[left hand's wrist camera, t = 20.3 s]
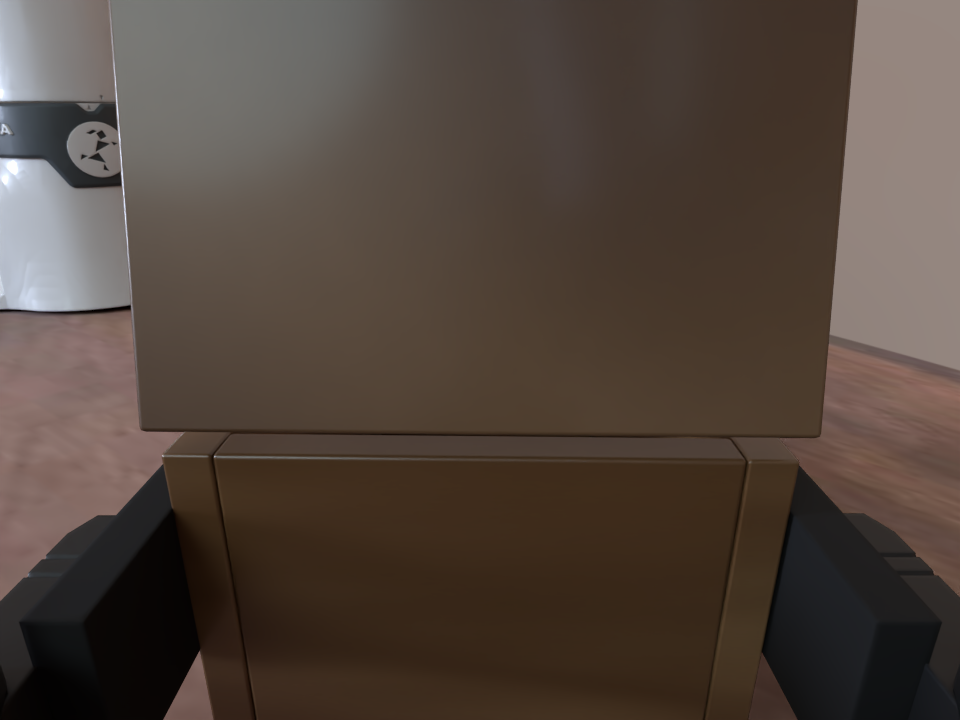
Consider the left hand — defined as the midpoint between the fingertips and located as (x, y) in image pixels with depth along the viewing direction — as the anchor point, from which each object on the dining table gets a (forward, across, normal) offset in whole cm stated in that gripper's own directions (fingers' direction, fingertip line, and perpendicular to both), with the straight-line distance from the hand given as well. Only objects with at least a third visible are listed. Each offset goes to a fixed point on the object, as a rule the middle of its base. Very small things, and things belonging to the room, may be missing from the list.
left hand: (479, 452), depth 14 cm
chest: (+3, 0, -6) cm, 7 cm away
